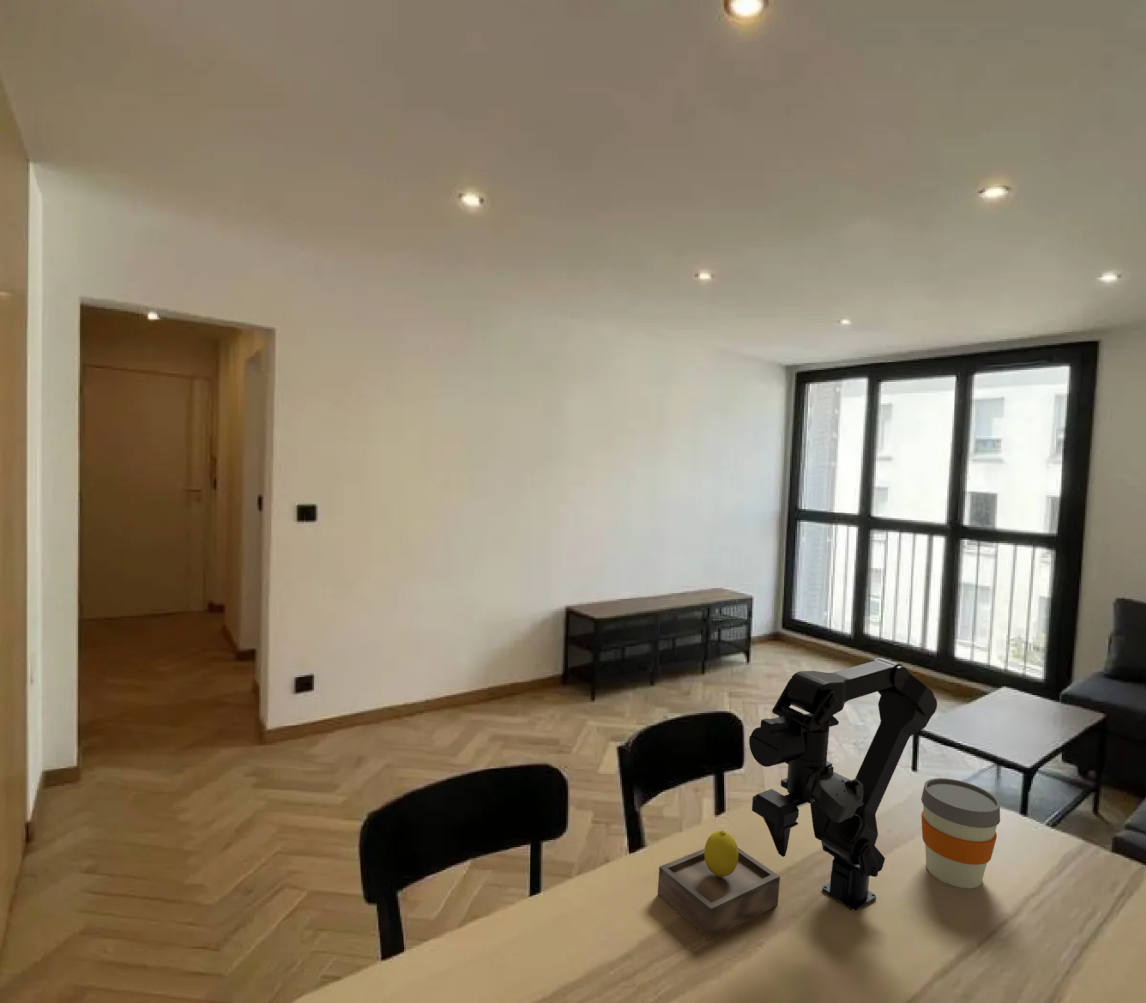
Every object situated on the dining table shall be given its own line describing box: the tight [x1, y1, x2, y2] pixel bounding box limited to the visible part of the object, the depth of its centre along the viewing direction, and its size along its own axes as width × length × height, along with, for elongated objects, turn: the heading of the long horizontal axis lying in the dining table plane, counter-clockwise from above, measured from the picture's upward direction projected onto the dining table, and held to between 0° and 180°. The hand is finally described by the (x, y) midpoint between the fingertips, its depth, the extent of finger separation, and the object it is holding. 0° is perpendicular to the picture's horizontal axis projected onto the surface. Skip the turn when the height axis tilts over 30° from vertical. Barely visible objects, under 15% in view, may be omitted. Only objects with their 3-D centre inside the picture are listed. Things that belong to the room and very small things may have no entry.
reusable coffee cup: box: [920, 777, 1001, 889], centre depth 124 cm, size 13×12×15 cm
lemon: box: [704, 830, 739, 878], centre depth 113 cm, size 6×6×8 cm
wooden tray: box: [657, 846, 781, 940], centre depth 114 cm, size 16×12×5 cm
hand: (800, 846), depth 109 cm, fingers open, 9 cm apart
